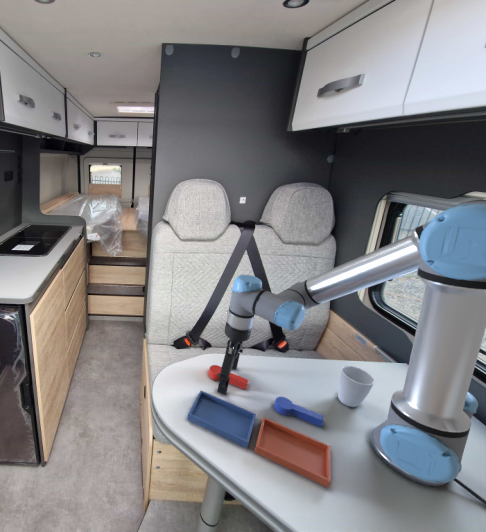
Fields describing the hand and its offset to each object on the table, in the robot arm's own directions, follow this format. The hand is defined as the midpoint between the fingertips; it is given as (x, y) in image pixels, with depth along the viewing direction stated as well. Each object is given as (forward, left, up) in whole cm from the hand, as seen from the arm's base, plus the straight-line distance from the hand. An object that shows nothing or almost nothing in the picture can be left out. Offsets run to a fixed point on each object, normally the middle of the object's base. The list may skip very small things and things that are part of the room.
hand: (227, 379), depth 101 cm
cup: (-34, -12, 0) cm, 36 cm away
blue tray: (-3, +17, 0) cm, 17 cm away
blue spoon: (-21, +3, 0) cm, 21 cm away
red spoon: (0, 0, 0) cm, 0 cm away
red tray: (-21, +17, 0) cm, 27 cm away
